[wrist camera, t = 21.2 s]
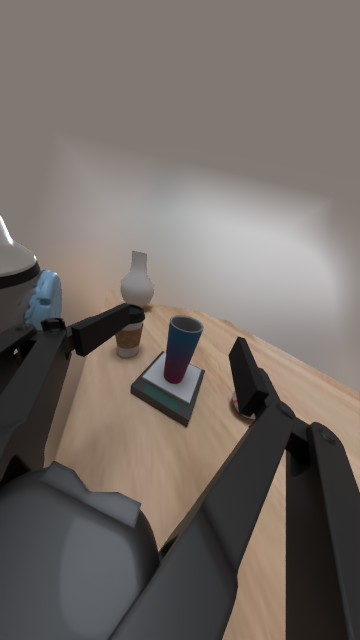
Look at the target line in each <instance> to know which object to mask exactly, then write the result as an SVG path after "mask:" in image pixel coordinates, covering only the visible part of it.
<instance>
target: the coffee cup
mask: <svg viewBox="0 0 360 640" xmlns="http://www.w3.org/2000/svg"><path fill="white" fill-rule="evenodd" d="M129 305H130V321H129V325H127V326H126V327H125V328H123V329H122V330H121V331H119V332H118V333H116V334H115V336H116V342H117V349H118V354H119V355H120V356H121V357H125V358H129V357H133V356H135V355H136V354H137V352H138V348H139V343H140V338H141V333H142V328H143V320H144V319H145V314H144V310H143V308H142V307H140V306H138V305H133V304H129ZM118 306H119V305H118ZM116 307H117V306H116Z"/></svg>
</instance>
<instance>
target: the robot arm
mask: <svg viewBox="0 0 360 640" xmlns="http://www.w3.org/2000/svg"><path fill="white" fill-rule="evenodd" d="M61 312H62V289H61V282H60V279H59V277H58V274H57V273H55V272H53V271H49V270H47V269H45V270H41V269H40V267H39V265H38V263H37V260H36V257H35V255H34V253H33V252H32V251H30V250H29V249H27V248H26V247H24V246H22V245H21V244H19V243H17V242H16V241H14V240H13V239H12V238H10V235H9V233H8V231H7V229H6V226H5V224H4V222H3V219H2V217H1V215H0V640H222V638H223V635H224V632H225V629H226V626H227V624H228V621H229V618H230V615H231V612H232V609H233V606H234V603H235V599H236V595H237V589H238V580H237V574H238V569H239V566H240V563H241V560H242V558H243V555H244V553H245V550H246V548H247V545H248V542H249V540H250V537H251V535H252V532H253V530H254V527H255V524H256V522H257V519H258V517H259V514H260V512H261V509H262V506H263V504H264V501H265V499H266V496H267V494H268V491H269V488H270V486H271V483H272V481H273V478H274V476H275V473H276V470H277V468H278V465H279V463H280V460H281V458H282V455H283V452H284V450H285V449H286V640H360V492H359V489H358V486H357V483H356V481H355V478H354V475H353V472H352V469H351V466H350V463H349V460H348V458H347V455H346V452H345V449H344V446H343V444H342V443H341V441H340V440H339V438H338V437H337V436H336V435H335V434H334V433H333V432H332V431H331V430H330V429H328V428H327V427H326V426H324V425H322V424H320V423H318V422H313V423H312V424H310V425H309V424H307V423H305V422H304V421H302V420H300V419H299V418H297V417H296V416H295V414H294V412H293V411H292V410H291V408H290V407H289V406H288V405H286V404H285V403H284V402H282V401H281V400H280V398H279V396H278V394H277V392H276V391H275V389H274V387H273V385H272V383H271V381H270V379H269V377H268V375H267V373H266V372H265V371H264V370H263V369H262V368H258V367H257V364H256V362H255V360H254V358H253V355H252V353H251V351H250V349H249V346H248V344H247V342H246V340H245V338H241V337H238V338H237V340H236V342H235V344H234V346H233V348H232V350H231V352H230V354H229V360H230V365H231V371H232V376H233V382H234V387H235V392H236V398H237V403H238V409H239V414H242V415H244V416H247V417H251V416H252V415H253V413H254V415H255V418H256V419H255V420H254V422H253V423H252V424H251V425H250V426H249V429H248V430H247V431H246V433H245V434H244V436H243V437H242V438H241V440H240V441H239V442H238V444H237V445H236V447H235V448H234V449H233V451H232V452H231V454H230V455H229V456H228V458H227V459H226V461H225V462H224V463H223V465H222V466H221V467H220V469H219V470H218V472H217V473H216V474H215V476H214V477H213V479H212V480H211V481H210V483H209V484H208V486H207V487H206V488H205V490H204V491H203V492H202V494H201V495H200V497H199V498H198V499H197V501H196V502H195V504H194V505H193V506H192V508H191V509H190V511H189V512H188V513H187V515H186V516H185V517H184V519H183V520H182V521H181V522H180V524H179V525H178V526H177V527H176V529H175V530H174V531H173V533H172V534H171V535H170V537H169V538H168V540H167V541H166V542H165V544H164V545H163V546H162V548H161V549H160V551H159V552H158V549H157V544H156V540H155V537H154V534H153V531H152V528H151V526H150V524H149V522H148V520H147V518H146V517H145V515H144V514H143V512H142V511H141V510H140V507H141V503H139V502H137V501H135V500H133V499H131V498H129V497H127V496H125V495H123V494H121V493H119V492H90V491H89V490H88V489H87V488H86V486H85V485H84V484H83V482H82V481H81V480H80V478H79V477H78V475H77V474H76V473H75V471H74V470H72V469H70V468H68V467H66V466H64V465H62V464H60V463H58V462H56V461H53V462H52V464H51V465H50V466H49V467H47V468H43V465H44V449H45V444H46V441H47V438H48V434H49V431H50V427H51V424H52V420H53V417H54V413H55V410H56V407H57V403H58V400H59V396H60V393H61V390H62V386H63V383H64V379H65V376H66V372H67V369H68V366H69V362H70V359H71V355H72V353H71V351H72V350H74V349H75V350H76V354H77V355H80V356H83V357H85V356H86V355H88V354H89V353H90V352H92V351H93V350H95V349H96V348H97V347H99V346H100V345H101V344H103V343H104V342H105V341H107V340H108V339H110V338H111V337H112V336H114V335H115V334H116V333H118V332H119V331H121V330H122V329H123V328H125V327H126V326H127V325H129V321H130V305H129V304H126V303H123V304H121V305H119V306H117V307H114V308H112V309H110V310H108V311H105V312H103V313H101V314H99V315H96V316H93V317H89V318H86V319H84V320H82V321H80V322H77V323H75V324H72V325H70V326H68V327H66V326H65V322H64V320H63V319H62V318H61ZM16 348H17V350H18V352H17V353H16V354H15V355H14V351H15V349H16ZM138 513H139V514H138ZM136 520H137V521H136Z"/></svg>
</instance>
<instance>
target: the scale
mask: <svg viewBox="0 0 360 640" xmlns="http://www.w3.org/2000/svg"><path fill="white" fill-rule="evenodd" d="M165 358H166V352H164V351H162V352H161V353H160V355H159V356H158V357H157V358H156V359H155V360H154V361H153V362H152V363H151V364H150V365H149V366H148V368H147V369H146V370H145V371H144V372H143V373H142V374H141V375H140V376H139V377H138V378H137V379H136V381H135V382H134V383H133V384H132V385H131V393H132V394H134V395H136V396H137V397H139V398H140V399H142V400H144V401H145V402H147V403H148V404H150V405H152V406H153V407H155V408H156V409H158V410H160V411H161V412H163V413H165V414H166V415H168V416H169V417H171V418H173V419H174V420H176V421H177V422H179V423H181V424H182V425H184V426H185V427H187V424H188V422H189V419H190V416H191V413H192V410H193V407H194V404H195V401H196V397H197V394H198V391H199V388H200V385H201V382H202V379H203V375H204V372H205V371H204V370H202V369H200V368H198V367H196V366H194V365H191V364H189V365H188V368H187V370H186V373H185V375H184V378H183V380H182V381H181V382H180V383H178V384H171V383H169V382H167V381H166V380H165V378H164V366H165Z"/></svg>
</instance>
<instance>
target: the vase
mask: <svg viewBox="0 0 360 640" xmlns="http://www.w3.org/2000/svg"><path fill="white" fill-rule="evenodd" d="M146 261H147V254H145V253H141V252H136V251H132V264H131V270H130V272H129V273H128V274H127V275H126V276H125V277H124V278H123V279H122V280H121V294H122V297H123V300H124V301H125V302H127V303H128V304H133V305H138V306H140V307H142V308H143V306H145V305H146V304H148V303H150V301H151V299H152V296H153V294H154V284H153V283H152V282H151V280H150V279H149V278H148V276H147V270H146V269H147V268H146Z"/></svg>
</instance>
